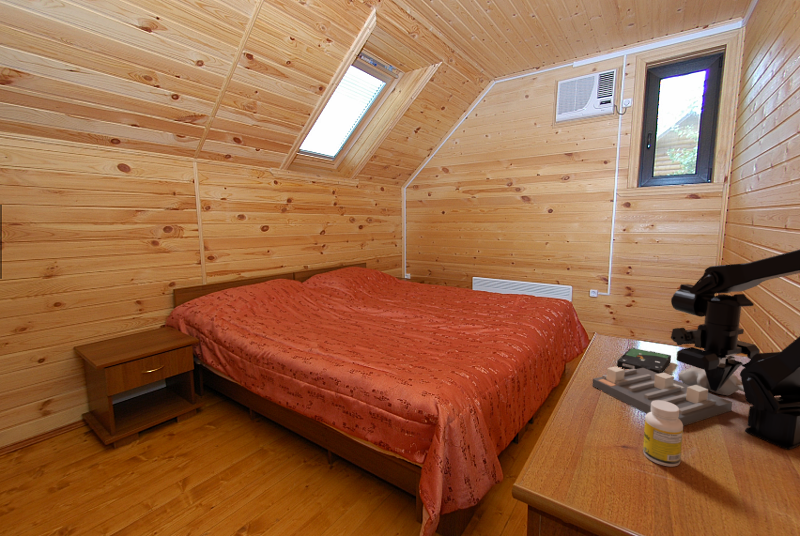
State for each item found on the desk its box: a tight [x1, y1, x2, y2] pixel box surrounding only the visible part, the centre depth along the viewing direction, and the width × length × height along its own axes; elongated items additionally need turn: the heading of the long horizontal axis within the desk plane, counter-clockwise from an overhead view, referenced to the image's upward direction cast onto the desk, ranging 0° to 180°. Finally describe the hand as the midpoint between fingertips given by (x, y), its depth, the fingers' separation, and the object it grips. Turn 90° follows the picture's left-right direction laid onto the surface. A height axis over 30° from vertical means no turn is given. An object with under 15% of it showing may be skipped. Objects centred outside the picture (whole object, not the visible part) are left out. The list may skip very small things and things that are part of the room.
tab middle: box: [654, 372, 675, 390], centre depth 86 cm, size 2×3×3 cm
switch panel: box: [592, 368, 733, 427], centre depth 85 cm, size 20×18×3 cm
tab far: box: [606, 365, 625, 384], centre depth 90 cm, size 2×3×3 cm
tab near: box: [686, 385, 709, 404], centre depth 79 cm, size 2×3×3 cm
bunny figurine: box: [678, 366, 744, 397], centre depth 88 cm, size 10×5×15 cm
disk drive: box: [616, 347, 672, 374], centre depth 105 cm, size 10×3×15 cm
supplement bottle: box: [642, 400, 684, 468], centre depth 64 cm, size 5×5×10 cm
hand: (714, 390), depth 81 cm, fingers closed
